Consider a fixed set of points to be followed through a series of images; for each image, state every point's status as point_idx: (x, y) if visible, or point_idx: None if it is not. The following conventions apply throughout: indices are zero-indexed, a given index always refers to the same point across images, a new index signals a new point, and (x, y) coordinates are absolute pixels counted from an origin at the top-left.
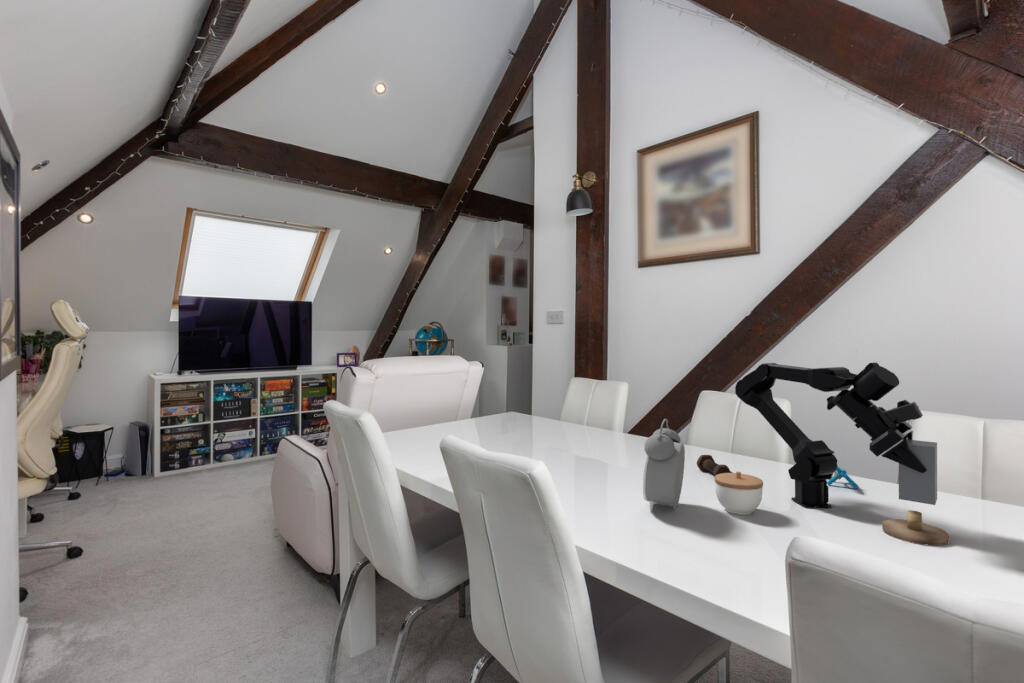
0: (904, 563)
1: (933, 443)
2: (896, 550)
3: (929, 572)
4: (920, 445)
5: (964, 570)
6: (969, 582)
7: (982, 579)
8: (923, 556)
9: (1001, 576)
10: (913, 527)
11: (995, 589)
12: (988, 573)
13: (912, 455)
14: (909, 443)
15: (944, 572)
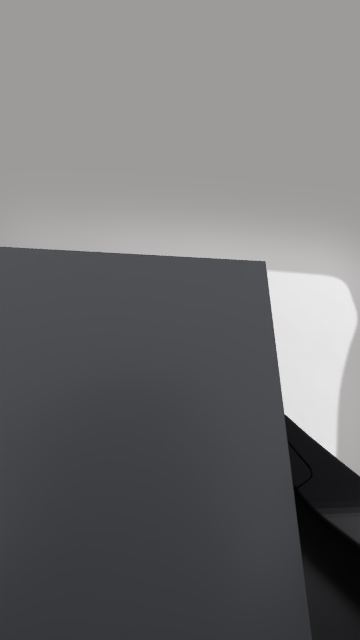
0: (338, 389)
1: (32, 273)
2: (289, 407)
3: (343, 357)
4: (279, 383)
5: (296, 319)
6: (335, 314)
7: (311, 302)
8: (284, 368)
9: (282, 283)
10: None
11: (332, 291)
12: (283, 295)
13: (300, 431)
14: (221, 528)
15: (326, 340)
